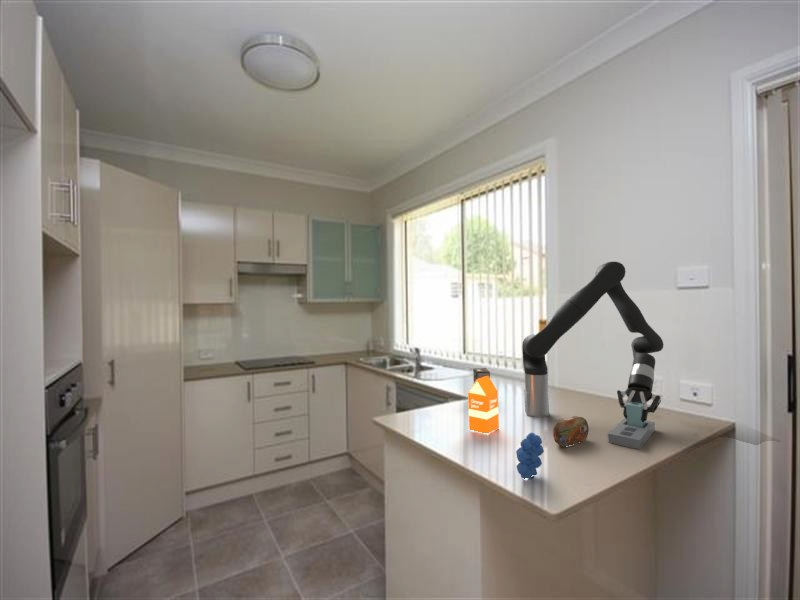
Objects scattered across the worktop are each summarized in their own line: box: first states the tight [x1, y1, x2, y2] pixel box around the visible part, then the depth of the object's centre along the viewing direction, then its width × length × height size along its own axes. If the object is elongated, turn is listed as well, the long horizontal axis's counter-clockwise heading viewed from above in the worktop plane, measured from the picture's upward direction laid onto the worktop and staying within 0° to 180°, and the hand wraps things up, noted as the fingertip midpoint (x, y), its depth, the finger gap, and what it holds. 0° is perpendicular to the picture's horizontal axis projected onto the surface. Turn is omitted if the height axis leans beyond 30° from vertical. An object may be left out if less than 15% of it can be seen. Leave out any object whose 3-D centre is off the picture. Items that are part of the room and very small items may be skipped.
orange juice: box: [467, 376, 500, 433], centre depth 137 cm, size 8×9×20 cm
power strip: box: [607, 417, 656, 450], centre depth 127 cm, size 22×9×4 cm, turn 135°
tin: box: [552, 415, 590, 448], centre depth 123 cm, size 15×3×8 cm, turn 117°
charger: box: [626, 402, 645, 428], centre depth 130 cm, size 4×4×9 cm
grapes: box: [515, 432, 545, 479], centre depth 101 cm, size 12×7×12 cm, turn 131°
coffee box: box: [472, 367, 491, 384], centre depth 172 cm, size 9×6×16 cm
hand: (634, 419), depth 129 cm, fingers closed on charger, 4 cm apart
